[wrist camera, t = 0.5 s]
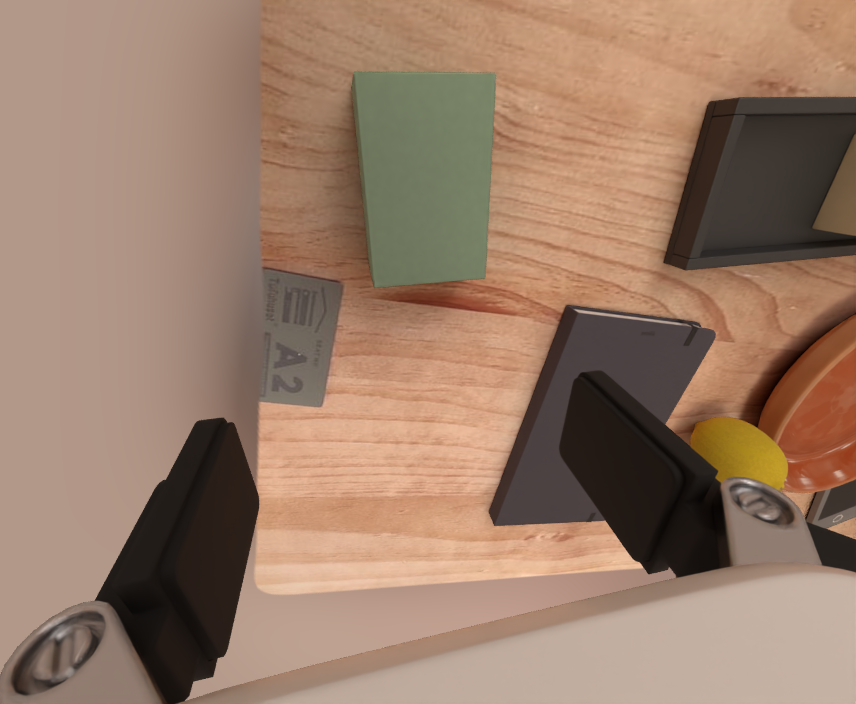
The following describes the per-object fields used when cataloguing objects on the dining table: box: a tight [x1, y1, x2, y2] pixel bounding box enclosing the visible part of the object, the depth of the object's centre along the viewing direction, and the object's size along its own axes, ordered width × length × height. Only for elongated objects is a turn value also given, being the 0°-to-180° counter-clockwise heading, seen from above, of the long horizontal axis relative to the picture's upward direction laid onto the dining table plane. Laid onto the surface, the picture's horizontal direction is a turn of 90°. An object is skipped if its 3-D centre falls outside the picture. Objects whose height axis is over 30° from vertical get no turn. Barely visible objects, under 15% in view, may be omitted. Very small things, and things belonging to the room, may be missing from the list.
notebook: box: [489, 305, 716, 526], centre depth 32 cm, size 13×2×21 cm
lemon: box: [690, 417, 788, 491], centre depth 32 cm, size 6×6×8 cm
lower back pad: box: [351, 72, 496, 288], centre depth 19 cm, size 6×9×4 cm, turn 1°
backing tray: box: [664, 97, 856, 270], centre depth 25 cm, size 10×22×2 cm, turn 91°
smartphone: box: [806, 479, 856, 529], centre depth 47 cm, size 15×8×1 cm, turn 17°
